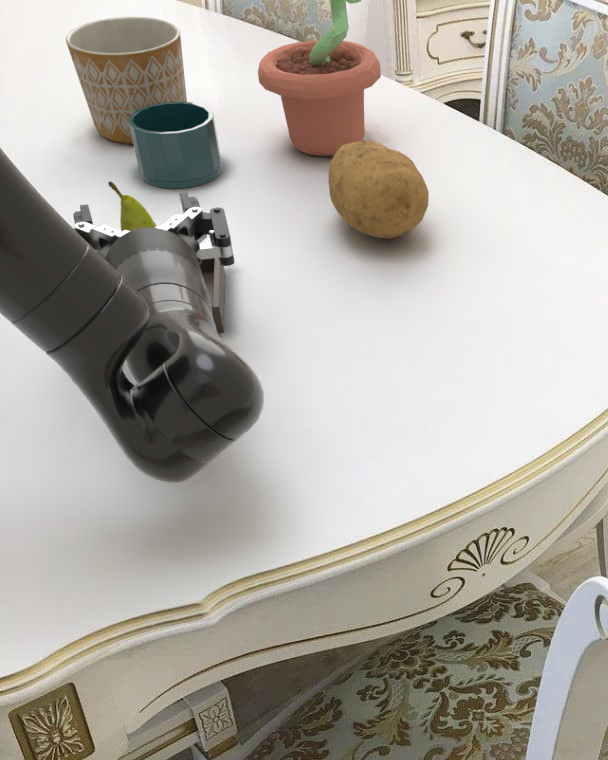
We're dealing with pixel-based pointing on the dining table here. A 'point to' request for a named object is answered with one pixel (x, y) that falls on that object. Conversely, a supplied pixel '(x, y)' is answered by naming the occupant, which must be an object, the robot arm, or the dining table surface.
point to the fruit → (132, 212)
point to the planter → (126, 69)
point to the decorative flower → (322, 86)
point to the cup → (176, 144)
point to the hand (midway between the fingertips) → (136, 208)
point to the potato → (377, 189)
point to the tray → (215, 288)
